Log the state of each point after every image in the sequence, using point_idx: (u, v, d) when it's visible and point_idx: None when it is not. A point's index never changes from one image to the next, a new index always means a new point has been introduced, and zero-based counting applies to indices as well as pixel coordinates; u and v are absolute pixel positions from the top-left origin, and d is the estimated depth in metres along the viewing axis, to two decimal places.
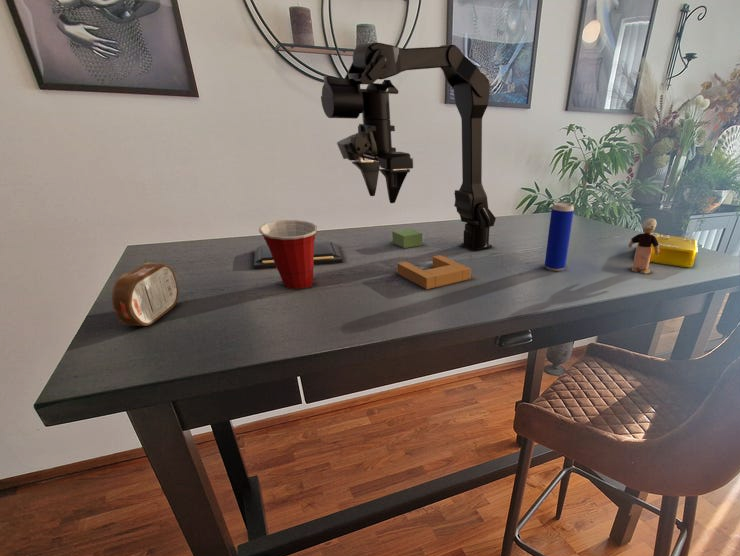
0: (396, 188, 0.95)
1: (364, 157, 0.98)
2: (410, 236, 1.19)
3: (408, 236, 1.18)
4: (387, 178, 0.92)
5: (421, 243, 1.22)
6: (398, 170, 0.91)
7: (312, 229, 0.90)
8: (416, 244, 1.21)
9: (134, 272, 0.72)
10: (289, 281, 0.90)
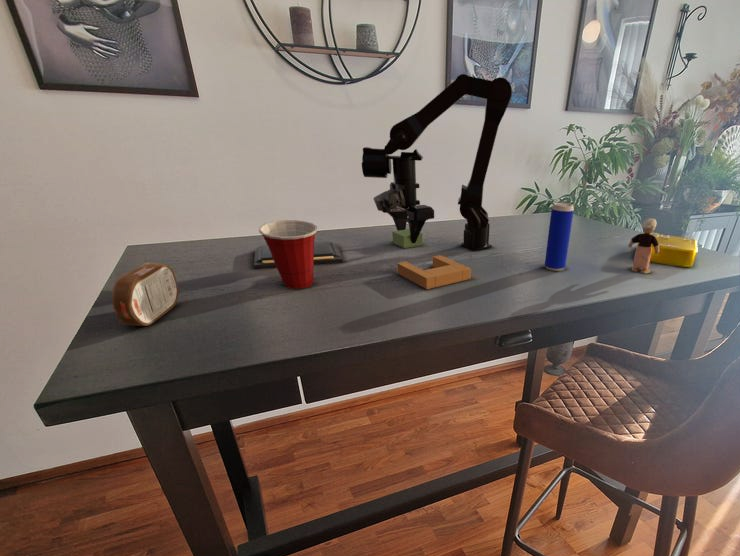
0: (417, 231, 1.18)
1: (396, 207, 1.20)
2: (410, 236, 1.19)
3: (408, 236, 1.18)
4: (410, 224, 1.16)
5: (421, 243, 1.22)
6: None
7: (312, 229, 0.90)
8: (416, 244, 1.21)
9: (134, 272, 0.72)
10: (289, 281, 0.90)
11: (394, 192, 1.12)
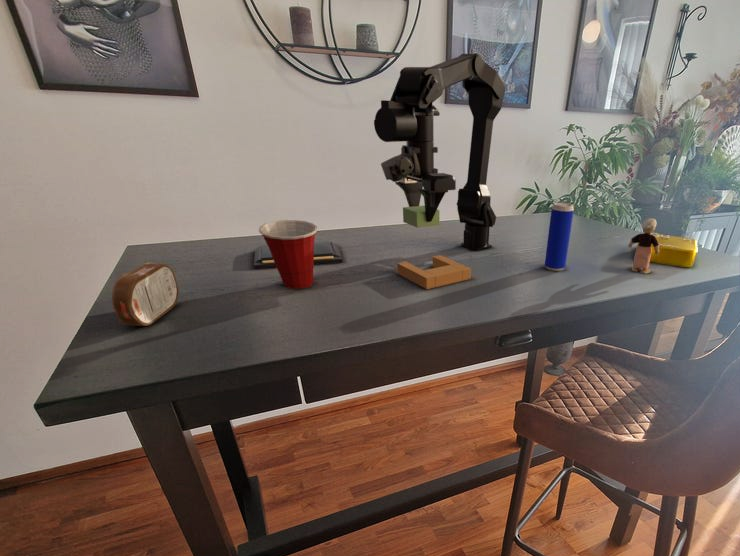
0: (434, 207, 0.96)
1: (408, 178, 0.98)
2: None
3: (422, 213, 0.96)
4: (426, 198, 0.94)
5: (438, 223, 1.00)
6: (437, 190, 0.92)
7: (312, 229, 0.90)
8: (432, 223, 0.99)
9: (134, 272, 0.72)
10: (289, 281, 0.90)
11: (407, 156, 0.90)
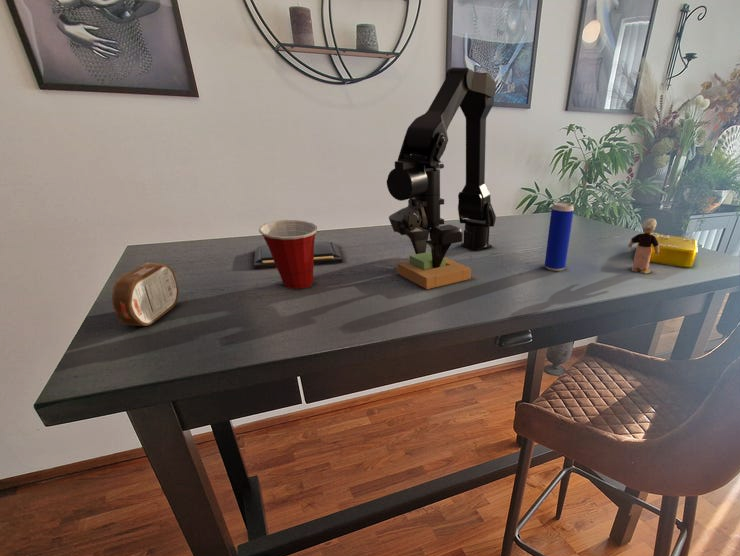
0: (440, 256, 0.98)
1: None
2: None
3: (429, 262, 0.98)
4: (433, 249, 0.95)
5: None
6: None
7: (312, 229, 0.90)
8: None
9: (134, 272, 0.72)
10: (289, 281, 0.90)
11: (414, 210, 0.92)
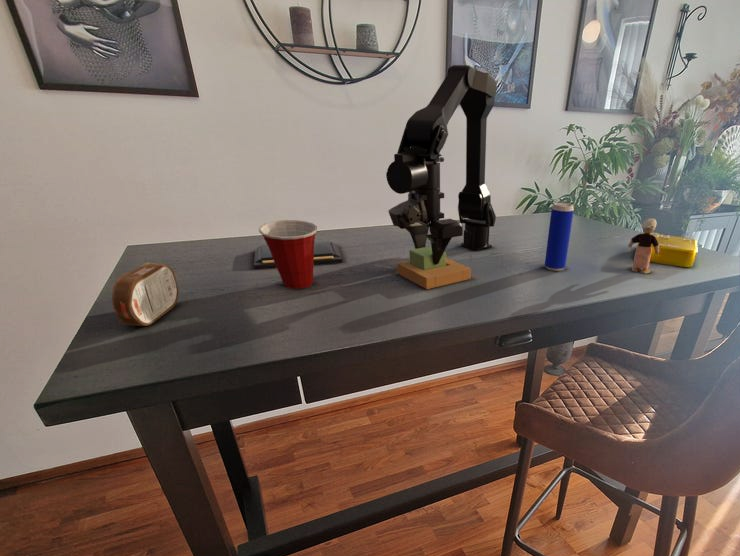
0: (441, 251, 0.97)
1: None
2: None
3: (429, 256, 0.97)
4: (433, 243, 0.95)
5: (444, 264, 1.01)
6: None
7: (312, 229, 0.90)
8: (438, 265, 1.00)
9: (134, 272, 0.72)
10: (289, 281, 0.90)
11: (414, 203, 0.91)
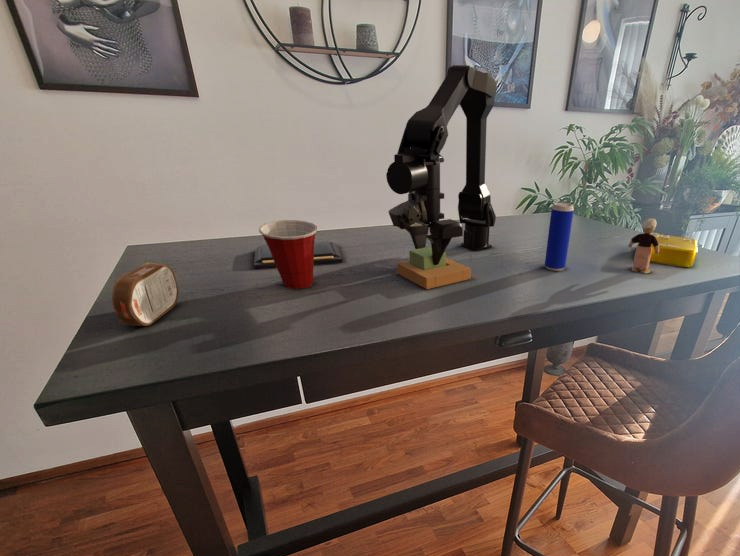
0: (441, 251, 0.97)
1: None
2: None
3: (429, 257, 0.97)
4: (433, 243, 0.95)
5: (444, 265, 1.01)
6: None
7: (312, 229, 0.90)
8: (438, 266, 1.00)
9: (134, 272, 0.72)
10: (289, 281, 0.90)
11: (414, 204, 0.91)
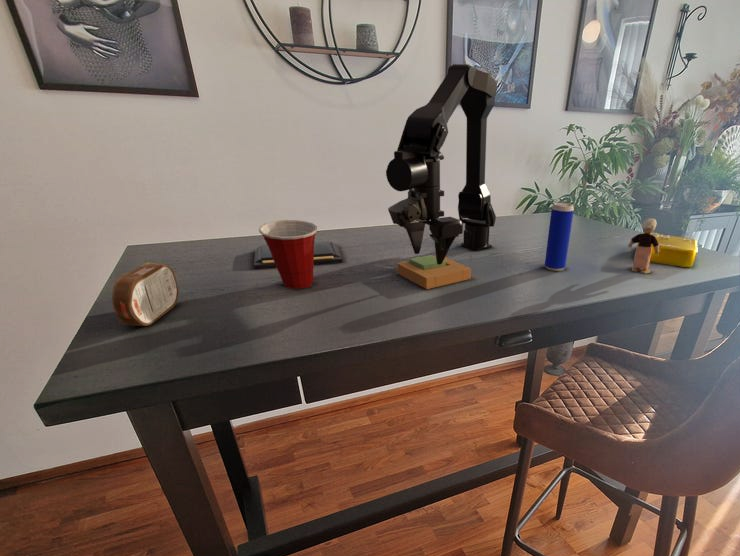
0: (444, 250, 0.96)
1: None
2: (432, 265, 0.99)
3: (429, 265, 0.98)
4: (436, 242, 0.93)
5: None
6: (448, 235, 0.92)
7: (312, 229, 0.90)
8: None
9: (134, 272, 0.72)
10: (289, 281, 0.90)
11: (414, 201, 0.91)
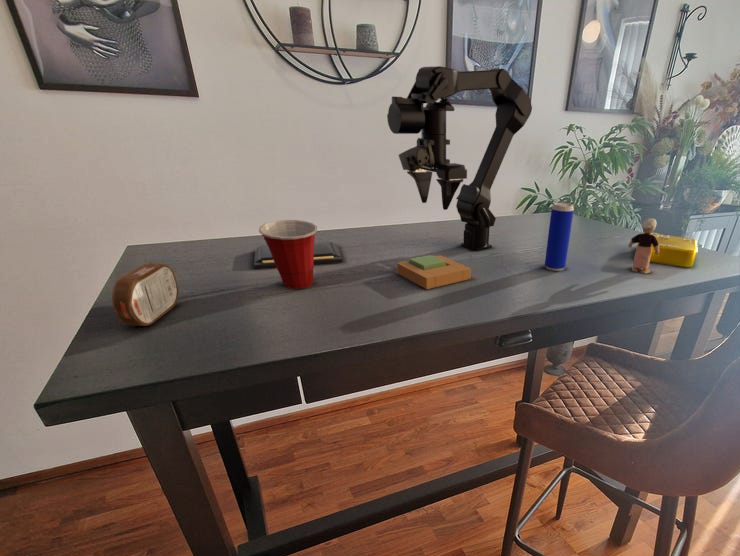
0: (450, 196, 1.04)
1: (419, 167, 1.08)
2: (432, 265, 0.99)
3: (429, 265, 0.98)
4: (443, 187, 1.02)
5: None
6: (454, 180, 1.00)
7: (312, 229, 0.90)
8: None
9: (134, 272, 0.72)
10: (289, 281, 0.90)
11: (422, 148, 0.99)
